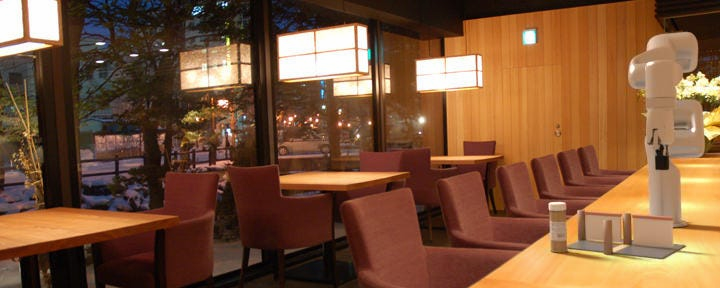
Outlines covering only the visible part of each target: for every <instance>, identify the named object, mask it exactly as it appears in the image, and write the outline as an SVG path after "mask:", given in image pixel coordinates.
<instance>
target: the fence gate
mask: <svg viewBox="0 0 720 288" xmlns="http://www.w3.org/2000/svg"><path fill="white" fill-rule="evenodd" d="M631 219H632V231H633V233H632V234H633V235H632V240H634V244H645V245H655V246H665V247H673V244H674V227H673V217H666V216H652V215H648V214H647V215H646V214H631Z"/></svg>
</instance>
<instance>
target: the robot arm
mask: <svg viewBox="0 0 720 288" xmlns="http://www.w3.org/2000/svg"><path fill="white" fill-rule="evenodd" d="M698 44H699V43H698V40H697V38H696V36H695V34H693V33H692V32H688V31H684V32H683V31H682V32H673V33H672V32H671V33H661V34H657V35H654V36H652V37H651V38H650V39H649V40H648V41H647V45H646V51H644V52H642V53H640V54H637V55H636V56H634V57H632V59H631V60H630V62H629V66H628V75H627V77H628V78H627V79H628V83H629V86H630V87H631V88H633V89H636V90H645V110H646V121H645V123H646V124H645V125H646V126H645V138H644V147H645V154H646V161H647V171H648V206H649V207H648V209H649V210H648V211H649V213H648V214H649V215H652V216H666V217H673V228H683V227H686V226H688V222H687V221H686V220H683V219H682V185H681V183H682V182H681V171H680V169H679V167H678V166H677V165H676V164H675V163H674V162H673V161H672V160H674V159H697V158H700V157H702V156H703V155H704V153H705V148H706V145H705V144H706V141H705V139H706V138H705V123H704V112H703V111H704V110H703V106H702V105H701V103H700V102H699V101H698V100H697V99H688V98H687V99H677V97H678V96H677V95H678V94H677V91H678V90H677V87H676V86H679V85H680V83H681V81H682V80H683V76H684V73H691V72H694V70H696V68H697V66H698V62H699V61H698V59H699V58H698V57H699V45H698Z"/></svg>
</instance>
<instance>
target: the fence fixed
mask: <svg viewBox="0 0 720 288" xmlns="http://www.w3.org/2000/svg"><path fill="white" fill-rule="evenodd" d="M576 211H577V212H576V213H577V214H576V215H577V217H576V218H577V242H578V241H581V240H586V239H594V240H604V253H603V255H607V256H608V255H609V256H612V255H614V254H613V241H614V242H622V239H623V244H625V245H631V244H632V240H633V235H632V234H633V233H632V231H633V227H632V213H630V212H604V211H589V210H586V209H585V210H584V209H579V210H576Z"/></svg>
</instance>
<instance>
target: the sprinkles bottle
mask: <svg viewBox="0 0 720 288" xmlns="http://www.w3.org/2000/svg"><path fill="white" fill-rule="evenodd" d="M548 210H549V238H550V249H549V250H550V252H553V253H557V254H558V253H559V254H563V253H566V252H567V253H568V249H567V245H568V242H567V241H568V240H567V239H568V236H567V235H568V234H567V233H568V232H567V215H566V212H567V204H566V202H563V201H562V202H561V201H554V202H553V201H552V202H549V203H548Z"/></svg>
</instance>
